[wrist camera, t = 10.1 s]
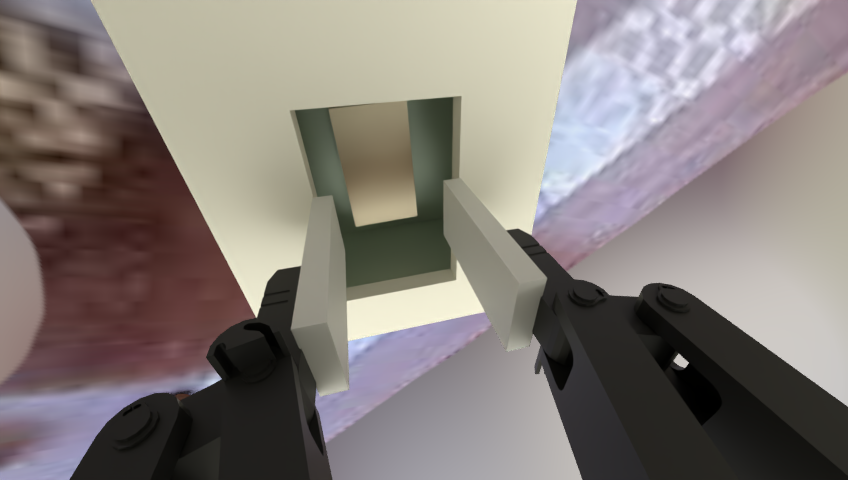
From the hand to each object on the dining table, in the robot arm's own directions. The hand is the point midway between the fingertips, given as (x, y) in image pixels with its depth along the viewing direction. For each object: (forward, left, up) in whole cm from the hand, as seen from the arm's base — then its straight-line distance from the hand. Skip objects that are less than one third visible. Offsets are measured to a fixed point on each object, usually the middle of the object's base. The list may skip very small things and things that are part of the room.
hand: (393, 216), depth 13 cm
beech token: (0, 0, -10) cm, 10 cm away
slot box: (0, 0, -10) cm, 10 cm away
